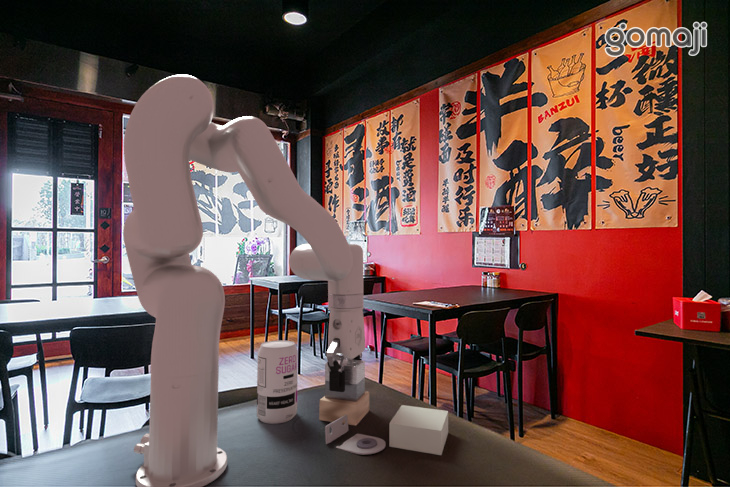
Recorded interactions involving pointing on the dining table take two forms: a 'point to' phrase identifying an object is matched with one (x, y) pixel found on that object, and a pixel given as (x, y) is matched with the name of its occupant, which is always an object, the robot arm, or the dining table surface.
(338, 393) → the block
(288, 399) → the supplement can
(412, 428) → the stand
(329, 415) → the stand
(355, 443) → the bracket
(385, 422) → the dining table surface
